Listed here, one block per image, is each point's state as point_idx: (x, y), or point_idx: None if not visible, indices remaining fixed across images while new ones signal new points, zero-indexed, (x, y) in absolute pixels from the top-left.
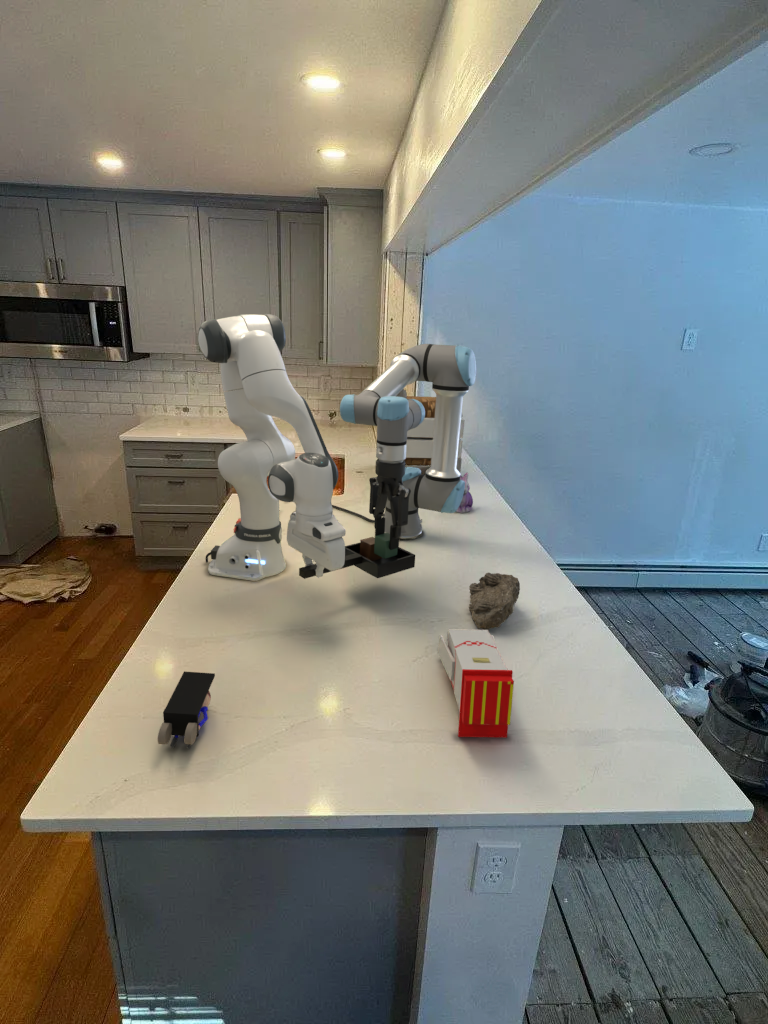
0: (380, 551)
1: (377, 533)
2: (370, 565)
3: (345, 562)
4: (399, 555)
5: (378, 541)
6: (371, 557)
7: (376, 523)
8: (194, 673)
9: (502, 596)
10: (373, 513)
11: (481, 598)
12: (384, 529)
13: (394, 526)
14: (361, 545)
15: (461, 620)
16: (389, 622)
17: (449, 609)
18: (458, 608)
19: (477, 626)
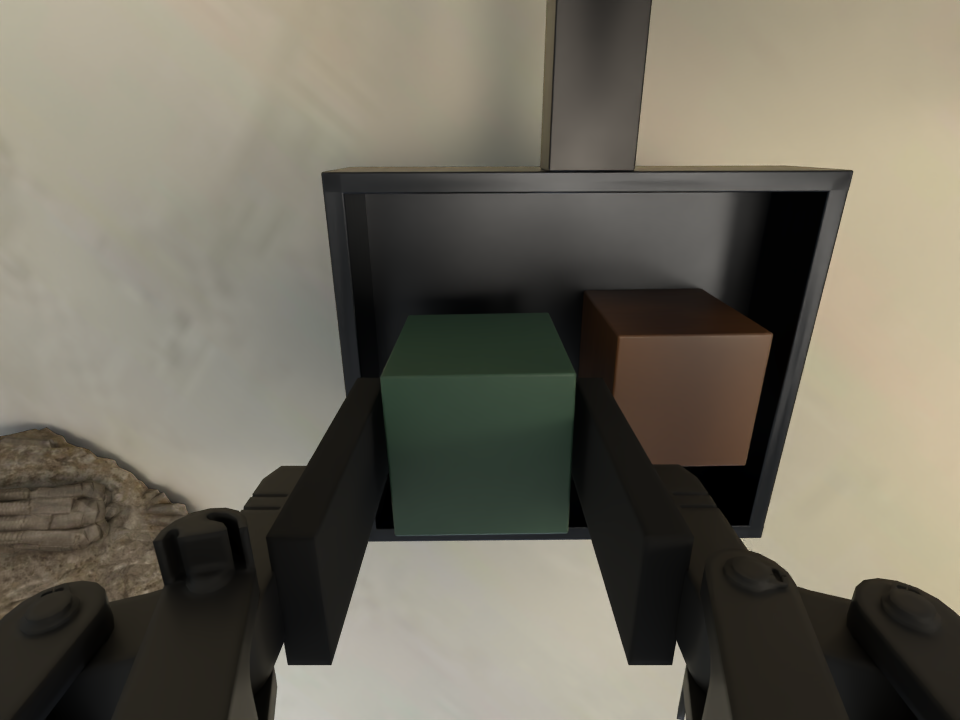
0: (466, 327)
1: (595, 430)
2: (429, 170)
3: None
4: None
5: (503, 357)
6: (589, 314)
7: (646, 494)
8: None
9: None
10: (833, 616)
11: (131, 566)
12: (592, 535)
13: (169, 543)
14: (728, 317)
15: (137, 423)
16: (270, 151)
17: (235, 447)
18: (225, 479)
19: (45, 430)
